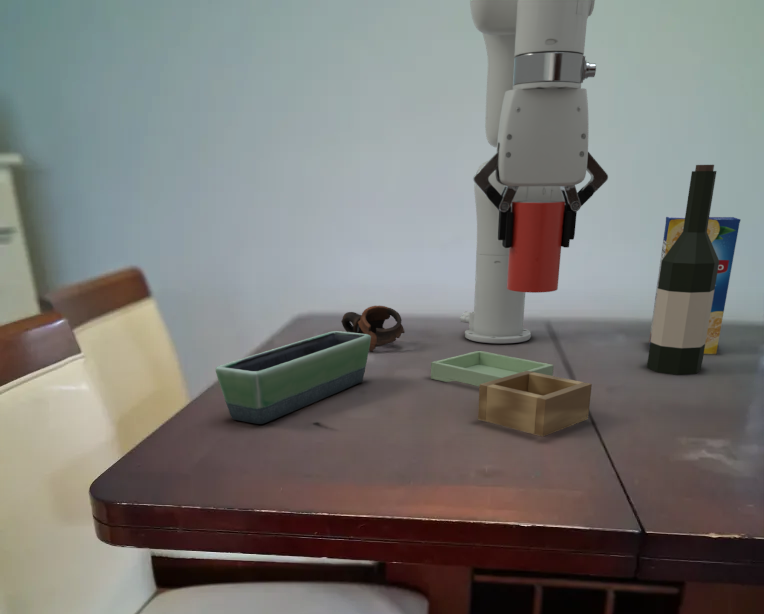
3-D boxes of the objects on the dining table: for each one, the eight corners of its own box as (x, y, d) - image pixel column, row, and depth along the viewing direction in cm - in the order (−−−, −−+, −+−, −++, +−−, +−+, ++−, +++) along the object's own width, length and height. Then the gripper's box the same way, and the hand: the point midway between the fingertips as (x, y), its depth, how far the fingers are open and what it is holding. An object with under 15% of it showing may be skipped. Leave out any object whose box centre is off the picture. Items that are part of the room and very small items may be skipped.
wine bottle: (705, 375, 116) (742, 164, 104) (649, 373, 118) (679, 164, 105) (696, 363, 123) (729, 164, 111) (643, 361, 125) (670, 165, 113)
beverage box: (648, 343, 138) (665, 216, 129) (711, 346, 136) (733, 217, 127) (650, 351, 132) (669, 218, 123) (716, 354, 130) (740, 219, 121)
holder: (477, 423, 95) (479, 384, 93) (524, 407, 101) (526, 370, 99) (542, 441, 88) (545, 399, 86) (587, 423, 94) (592, 383, 92)
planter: (261, 430, 93) (257, 373, 90) (217, 421, 96) (212, 366, 93) (373, 381, 115) (373, 334, 112) (334, 375, 118) (333, 329, 115)
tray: (430, 378, 116) (430, 362, 115) (478, 366, 123) (478, 350, 122) (505, 396, 106) (506, 378, 105) (552, 381, 114) (553, 364, 112)
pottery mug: (405, 343, 143) (412, 309, 136) (391, 375, 137) (397, 340, 130) (346, 325, 143) (349, 290, 137) (330, 356, 138) (333, 321, 131)
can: (496, 289, 92) (501, 201, 88) (526, 283, 96) (532, 199, 92) (538, 294, 88) (545, 202, 84) (567, 288, 92) (575, 200, 88)
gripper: (616, 78, 86) (598, 243, 93) (466, 80, 86) (461, 244, 94) (635, 71, 79) (614, 249, 86) (472, 73, 79) (466, 250, 87)
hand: (535, 245), depth 90 cm, fingers closed on can, 6 cm apart
